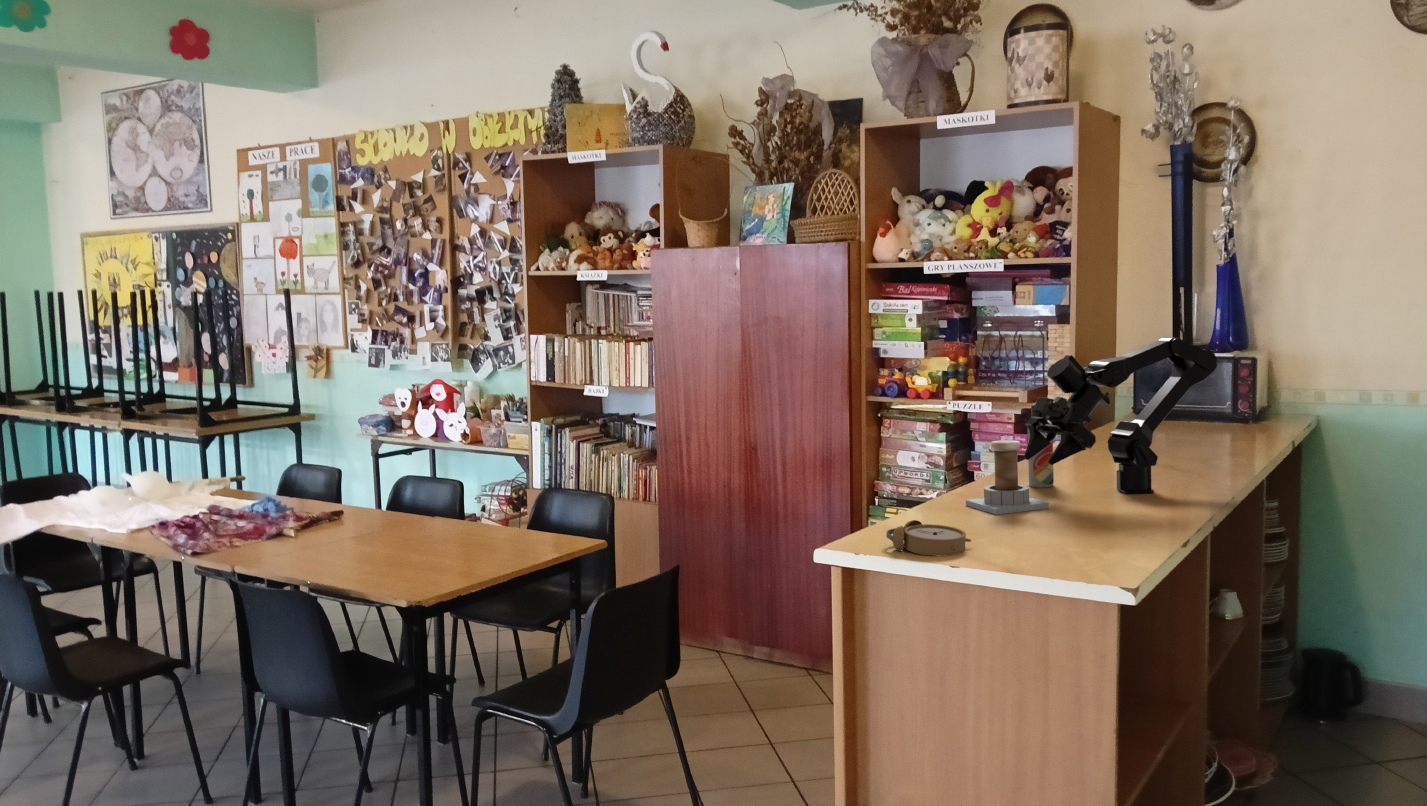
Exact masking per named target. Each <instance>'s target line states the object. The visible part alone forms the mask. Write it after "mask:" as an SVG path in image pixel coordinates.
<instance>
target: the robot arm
mask: <svg viewBox="0 0 1427 806" xmlns="http://www.w3.org/2000/svg"><path fill="white" fill-rule="evenodd" d="M1163 360H1168V361H1169V362H1170V363H1172V368H1171V375H1170V376H1169V378H1168V379H1167V380H1166V381H1165V382H1164V384H1163V385H1162V386H1161V387H1160V388H1159V390H1158V391H1157V392H1156V393H1155V395H1154V396H1153V397H1152V398H1151V399H1150V401H1149V402H1148V403H1147V404H1146V405H1145V406H1144V407H1143V408H1142V410H1141V411H1140V412H1139V414H1138V415H1136V417H1135V418H1134V419H1133V420H1132V421H1125V420H1120V421H1119V422H1118V423H1117V425H1116V427H1115V428H1114V429H1113V430H1112V431H1110V432H1109V437H1108V439H1107V448H1108V451H1109V452H1110V454H1111V456H1112V460H1113V463H1114V464H1118V469H1117V470H1116V490H1118V491H1120V492H1122V493H1124V494H1144V493H1146V494H1148V493H1155V489H1153V488H1152V467H1155V466H1156V465H1157V462H1158V459H1159V456H1158V454H1156V453H1155V452H1154V451H1153V450H1152V448H1150V447H1151V446H1152V443H1153V436H1154V432H1155V431H1156V430H1157V428H1158V427H1159V425H1161V423H1162V422H1163V421H1164V420H1165V419H1166V418H1167V416H1168V415H1169V414H1170V413H1171V411H1172V410H1173V409H1174V408H1175V406H1177V404H1178V403H1179V402H1180V401H1181V400H1182V398H1183V397H1184V396H1185V395H1186V394H1187V392H1188V391H1189V390H1190V388H1192V387H1194V386H1195V385H1197V384H1199V383H1201V382H1203V381H1205V380H1206V379H1208V377H1210V376H1211V375H1212V374H1213V373H1214V372H1215V371H1216V370H1217V368H1218V363H1217V362H1218V361H1217V356H1216V354H1215V353H1214V352H1213V351H1212V350H1210V349H1203V348H1202V347H1199V346H1197V345H1194V344H1191V343H1188V342H1186V341H1185V340H1183V339H1181V338H1179V337H1176V336H1172V337H1171V336H1163V337H1161V338H1159V339H1158V340H1156V341H1154V342H1152V343H1149V344H1147V345H1145V346H1143V347H1140V348H1137V349H1135V350H1132V351H1130V352H1128V353H1126V354H1123V355H1119V356H1117V357H1109V358H1103V359H1098V360H1093V361H1091V362H1090V363H1089V364H1088V365H1087V366H1085V367H1082V365H1081V364H1080V363H1079V362H1078V361H1077V359H1076V358H1075V357H1074V355H1071V354H1065V356H1064V357H1063V358H1061V359H1059V360H1057V361H1056V362H1054V364H1051V365H1050V366H1049V368H1048V369H1047V373H1046V375H1047V377H1048V378H1049V379H1050V380H1051V381H1052V382H1053V383H1054V385H1056V386H1057V387H1058V388H1059V390H1060V391H1062V392H1063V393H1064V394H1071V395H1070V396H1069V397H1068V399H1067V398H1064V397H1062V396H1056V397H1055V398H1048V397H1042V396H1038V397H1037V400H1036V402H1035V403H1036V404H1035V403H1034V404H1035V407H1034V411H1036V412H1040V413H1043V414H1045V415H1047V417H1046V418H1047V419H1048V421H1046V420H1045V419H1044V418H1041V417H1031V416H1030V417H1029V418H1028V420H1027V421H1026V422H1025V426H1026V428H1027V431H1028V430H1029V431H1030V439H1029V443H1028V442H1027V446H1026V449H1025V453H1024V456H1023V458H1024V459H1025V460H1026V461H1028V460H1029V459H1030V458H1032V457H1033V456H1035V455H1036V454H1037V453H1039V452H1040V451H1041V450H1043V449H1044V448H1045V447H1047V446H1048V445H1049V444H1051V443H1050V441H1051V440H1053V441H1054V439H1055V438H1056V437H1057V436H1060V441H1059V443H1058V445H1057V446H1056V448H1055V449H1054V450H1053V454H1052V455H1051V457H1050V459H1049V461H1048V463H1049V464H1050V465H1053V466H1054V465H1055V464H1057V463H1059V462H1061V461H1063V460H1065V459H1067V458H1069V457H1071V456H1073V455H1075V454H1077V453H1080V452H1082V451H1086V450H1087V449H1092V447H1093V446H1094V445H1095V443H1096V442H1097V440H1096V437H1097V436H1096V435H1095V434H1094V433H1093V432H1092V431H1091V430H1090V428H1088V427H1087V426H1086V425H1085V424H1086V423H1087V424H1090V423H1091V421H1092V419H1091V418H1090V415H1091V414H1092V413H1093V411H1094V410H1095V409H1096V408H1097V406H1098V405H1099V404H1100V405H1110V404H1111V401H1110V400H1111V399H1110V396H1109V392H1108V391H1103V390H1102V389H1101V388H1100V387H1103V388H1116V387H1118V386H1120V385H1121V384H1123V383H1124V382H1125V381H1127V380H1128V379H1129V378H1130V377H1131V375H1132V374H1134V373H1135V372H1138V371H1140V370H1143V369H1145V368H1146V367H1149V366H1151V365H1154V364H1156V363H1158V362H1161V361H1163ZM1048 422H1051V423H1052V425H1050V424H1049V423H1048Z"/></svg>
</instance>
